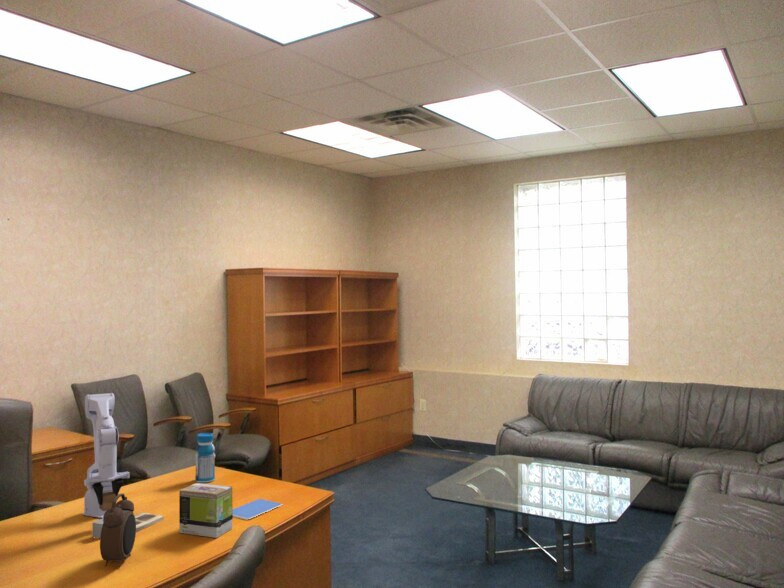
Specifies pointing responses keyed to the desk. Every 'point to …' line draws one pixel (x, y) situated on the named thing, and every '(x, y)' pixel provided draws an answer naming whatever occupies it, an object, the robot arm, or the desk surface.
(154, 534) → the desk surface
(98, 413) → the robot arm
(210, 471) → the beverage bottle
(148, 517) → the board
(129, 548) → the alarm clock
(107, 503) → the walnut block
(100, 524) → the grey block
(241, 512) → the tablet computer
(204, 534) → the tea box
